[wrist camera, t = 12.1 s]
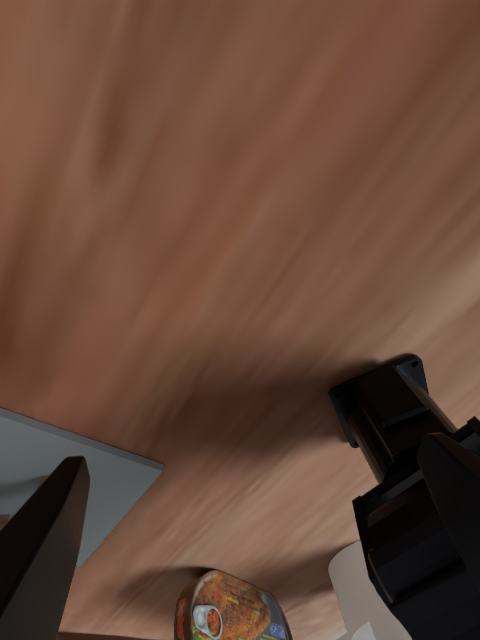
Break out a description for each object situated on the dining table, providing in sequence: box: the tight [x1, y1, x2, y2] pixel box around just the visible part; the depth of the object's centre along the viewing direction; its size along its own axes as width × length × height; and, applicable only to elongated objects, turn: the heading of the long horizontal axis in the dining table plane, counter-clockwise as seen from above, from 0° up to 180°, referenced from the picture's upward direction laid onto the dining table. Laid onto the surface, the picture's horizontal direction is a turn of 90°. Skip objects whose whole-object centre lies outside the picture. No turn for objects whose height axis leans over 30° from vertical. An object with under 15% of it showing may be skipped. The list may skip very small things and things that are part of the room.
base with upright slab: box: [328, 541, 412, 640], centre depth 33 cm, size 9×9×12 cm
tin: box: [174, 570, 293, 640], centre depth 34 cm, size 15×3×8 cm, turn 41°
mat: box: [0, 408, 164, 567], centre depth 26 cm, size 14×14×1 cm
